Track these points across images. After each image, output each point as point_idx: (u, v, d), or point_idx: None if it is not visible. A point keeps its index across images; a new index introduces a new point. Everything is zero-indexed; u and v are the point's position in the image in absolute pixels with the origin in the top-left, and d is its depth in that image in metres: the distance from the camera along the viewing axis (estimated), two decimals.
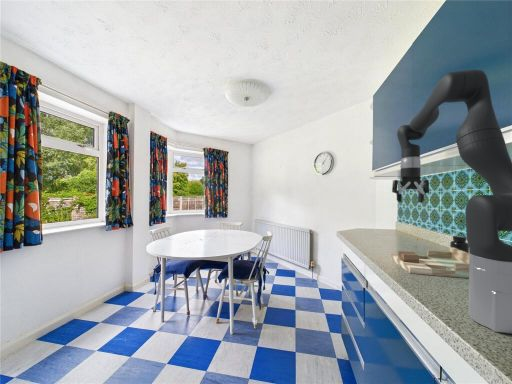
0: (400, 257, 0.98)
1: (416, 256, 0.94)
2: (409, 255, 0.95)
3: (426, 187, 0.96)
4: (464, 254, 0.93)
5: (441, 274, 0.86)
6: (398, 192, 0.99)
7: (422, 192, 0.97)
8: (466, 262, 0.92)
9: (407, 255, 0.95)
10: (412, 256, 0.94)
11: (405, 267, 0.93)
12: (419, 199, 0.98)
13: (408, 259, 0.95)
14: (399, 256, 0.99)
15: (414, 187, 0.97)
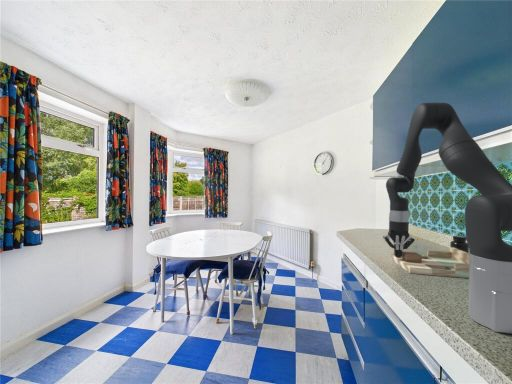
0: (402, 257, 0.98)
1: (419, 256, 0.94)
2: (412, 255, 0.94)
3: (408, 244, 0.96)
4: (464, 254, 0.93)
5: (441, 274, 0.86)
6: (396, 248, 0.97)
7: (400, 248, 0.97)
8: (466, 262, 0.92)
9: (410, 255, 0.94)
10: (415, 256, 0.94)
11: (405, 267, 0.93)
12: None
13: (411, 259, 0.94)
14: None
15: (399, 239, 0.97)
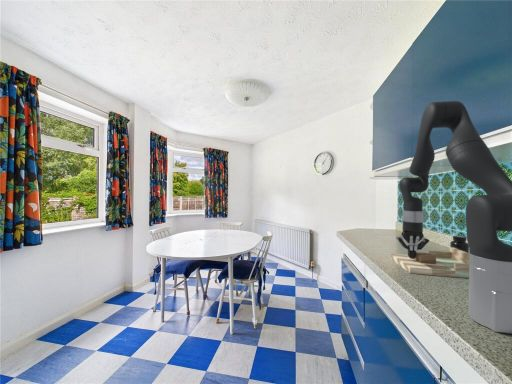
0: (416, 258, 0.97)
1: (433, 257, 0.93)
2: (426, 256, 0.93)
3: (422, 244, 0.95)
4: (464, 254, 0.93)
5: (441, 274, 0.86)
6: (410, 249, 0.96)
7: (414, 249, 0.96)
8: (466, 262, 0.92)
9: (424, 256, 0.93)
10: (429, 257, 0.93)
11: (405, 267, 0.93)
12: None
13: (425, 260, 0.93)
14: None
15: (413, 240, 0.96)
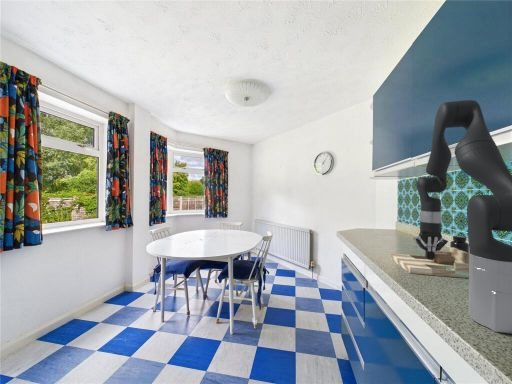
0: (434, 259, 0.96)
1: (452, 258, 0.91)
2: (444, 257, 0.92)
3: (440, 245, 0.94)
4: (464, 254, 0.93)
5: (441, 274, 0.86)
6: (428, 250, 0.95)
7: (433, 250, 0.94)
8: (466, 262, 0.92)
9: (442, 257, 0.92)
10: (447, 258, 0.92)
11: (405, 267, 0.93)
12: None
13: (443, 261, 0.92)
14: None
15: (431, 241, 0.94)
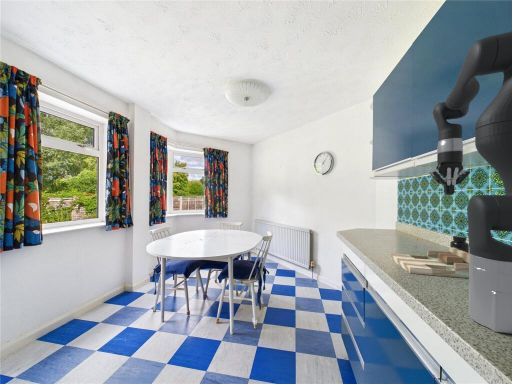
0: (441, 260, 0.95)
1: (460, 259, 0.91)
2: (452, 258, 0.91)
3: (461, 177, 0.82)
4: (464, 254, 0.93)
5: (441, 274, 0.86)
6: (447, 183, 0.83)
7: (453, 183, 0.83)
8: (466, 262, 0.92)
9: (451, 258, 0.92)
10: (456, 259, 0.91)
11: (405, 267, 0.93)
12: None
13: (451, 262, 0.91)
14: (440, 258, 0.96)
15: (451, 173, 0.83)
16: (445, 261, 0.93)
